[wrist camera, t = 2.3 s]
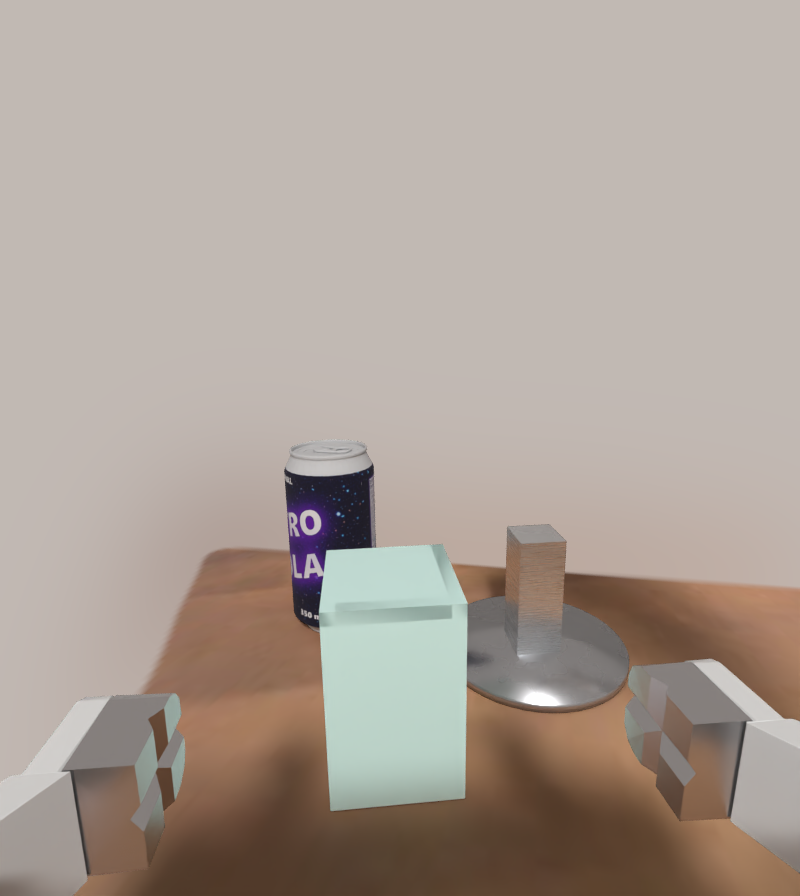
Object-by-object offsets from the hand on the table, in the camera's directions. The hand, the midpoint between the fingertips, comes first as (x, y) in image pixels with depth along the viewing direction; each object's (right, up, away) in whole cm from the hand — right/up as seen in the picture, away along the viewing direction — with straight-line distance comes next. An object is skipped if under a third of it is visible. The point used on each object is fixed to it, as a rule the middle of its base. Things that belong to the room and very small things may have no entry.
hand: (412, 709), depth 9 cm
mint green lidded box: (-1, -9, +15) cm, 18 cm away
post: (+8, -8, +22) cm, 25 cm away
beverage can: (-5, -7, +26) cm, 28 cm away
